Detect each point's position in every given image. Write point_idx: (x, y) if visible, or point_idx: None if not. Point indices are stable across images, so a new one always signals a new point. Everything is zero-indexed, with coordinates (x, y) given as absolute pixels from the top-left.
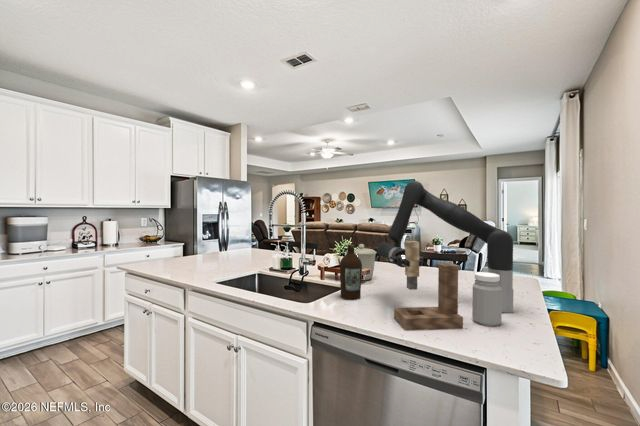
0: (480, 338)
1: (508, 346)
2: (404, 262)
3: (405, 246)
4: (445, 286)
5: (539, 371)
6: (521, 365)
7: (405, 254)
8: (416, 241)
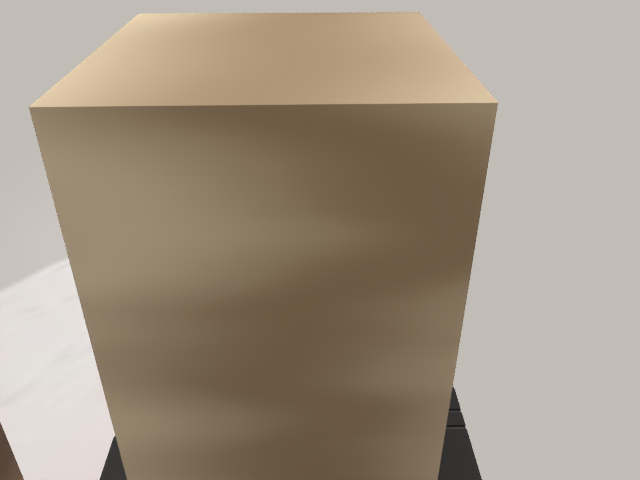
0: (54, 454)
1: (13, 385)
2: (460, 435)
3: (461, 276)
4: (10, 467)
5: None
6: None
7: (432, 461)
8: (86, 63)
